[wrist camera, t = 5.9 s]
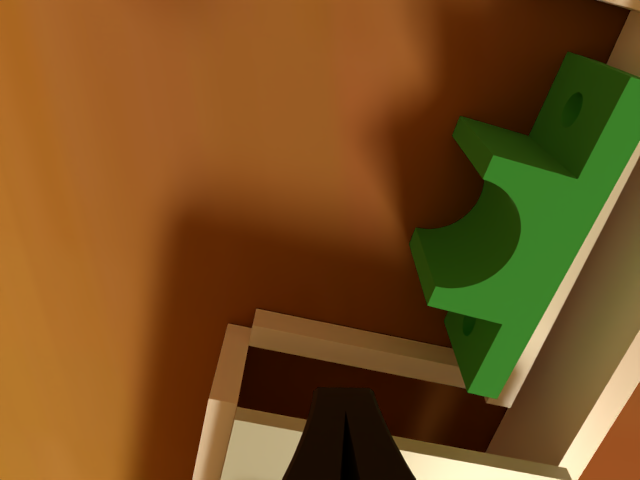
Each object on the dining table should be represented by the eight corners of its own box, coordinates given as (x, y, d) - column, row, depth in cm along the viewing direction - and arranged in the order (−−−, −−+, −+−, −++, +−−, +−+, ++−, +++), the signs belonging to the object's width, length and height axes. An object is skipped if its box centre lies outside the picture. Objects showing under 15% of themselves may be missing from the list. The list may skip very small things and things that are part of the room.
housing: (746, 5, 18) (867, 19, 14) (429, 597, 32) (445, 690, 28) (318, -117, 17) (317, -140, 13) (179, 557, 30) (157, 649, 26)
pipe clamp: (492, 27, 19) (541, 46, 15) (595, 59, 19) (670, 86, 15) (382, 305, 24) (396, 378, 19) (467, 326, 24) (498, 402, 20)
